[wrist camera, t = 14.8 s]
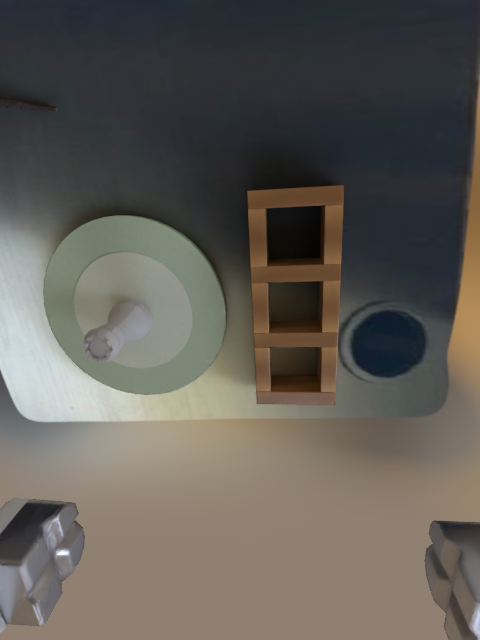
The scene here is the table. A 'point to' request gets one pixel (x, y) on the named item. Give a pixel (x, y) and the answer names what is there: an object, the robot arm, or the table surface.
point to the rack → (296, 270)
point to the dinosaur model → (24, 104)
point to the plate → (142, 286)
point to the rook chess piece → (118, 331)
